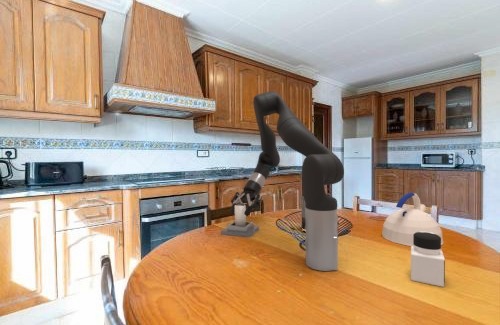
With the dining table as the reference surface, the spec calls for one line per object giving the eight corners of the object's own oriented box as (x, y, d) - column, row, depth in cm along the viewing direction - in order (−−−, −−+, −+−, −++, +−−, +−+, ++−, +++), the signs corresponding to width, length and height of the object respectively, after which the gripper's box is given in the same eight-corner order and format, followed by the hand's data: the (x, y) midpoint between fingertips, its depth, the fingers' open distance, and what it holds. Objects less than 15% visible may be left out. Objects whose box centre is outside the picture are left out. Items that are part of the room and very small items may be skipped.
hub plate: (259, 229, 116) (259, 221, 116) (250, 237, 105) (249, 228, 105) (232, 226, 121) (232, 219, 121) (221, 234, 109) (221, 226, 109)
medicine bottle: (444, 287, 64) (445, 239, 63) (410, 280, 68) (410, 235, 67) (442, 276, 70) (442, 232, 69) (410, 270, 74) (411, 228, 73)
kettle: (452, 240, 99) (453, 193, 98) (429, 252, 87) (429, 198, 86) (397, 228, 115) (397, 187, 115) (371, 237, 104) (371, 192, 103)
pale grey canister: (247, 226, 114) (247, 203, 114) (243, 230, 110) (243, 205, 109) (237, 226, 116) (237, 202, 116) (233, 229, 112) (232, 205, 111)
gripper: (239, 178, 123) (222, 206, 114) (263, 180, 113) (246, 210, 105) (246, 188, 127) (230, 216, 118) (270, 190, 118) (255, 221, 109)
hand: (238, 213), depth 112 cm, fingers open, 8 cm apart
